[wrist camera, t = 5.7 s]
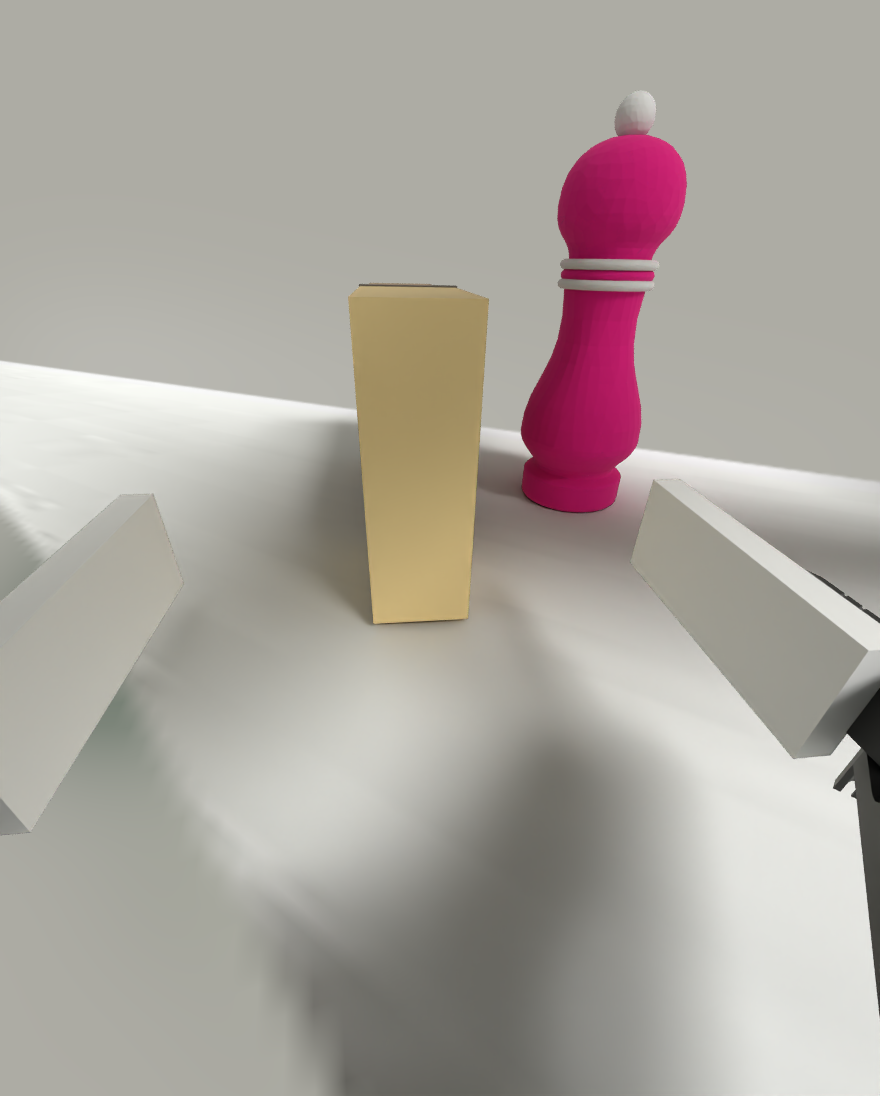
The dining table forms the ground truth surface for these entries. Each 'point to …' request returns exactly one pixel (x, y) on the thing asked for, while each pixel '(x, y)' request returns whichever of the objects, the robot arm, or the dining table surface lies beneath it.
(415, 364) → the stub
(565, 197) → the pepper mill
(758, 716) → the robot arm
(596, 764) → the dining table surface
